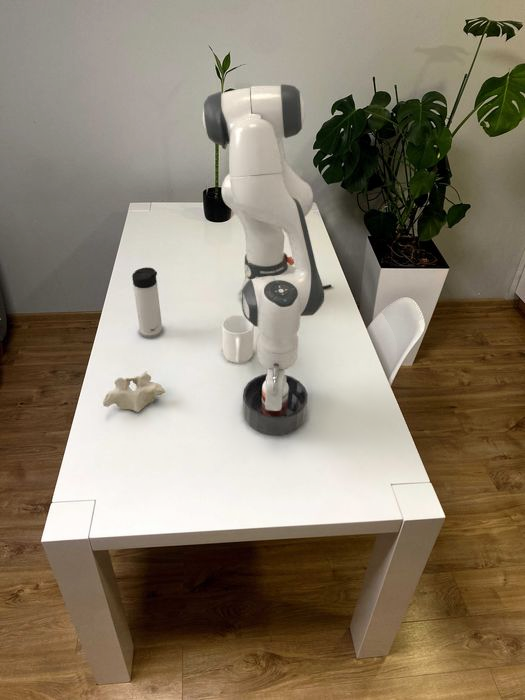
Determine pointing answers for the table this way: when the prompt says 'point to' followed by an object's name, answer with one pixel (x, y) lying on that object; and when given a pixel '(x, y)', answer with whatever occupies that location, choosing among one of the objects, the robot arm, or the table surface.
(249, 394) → the bowl
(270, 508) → the table surface
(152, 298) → the travel mug
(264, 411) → the pill bottle
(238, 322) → the cup
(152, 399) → the bone
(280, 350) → the robot arm
